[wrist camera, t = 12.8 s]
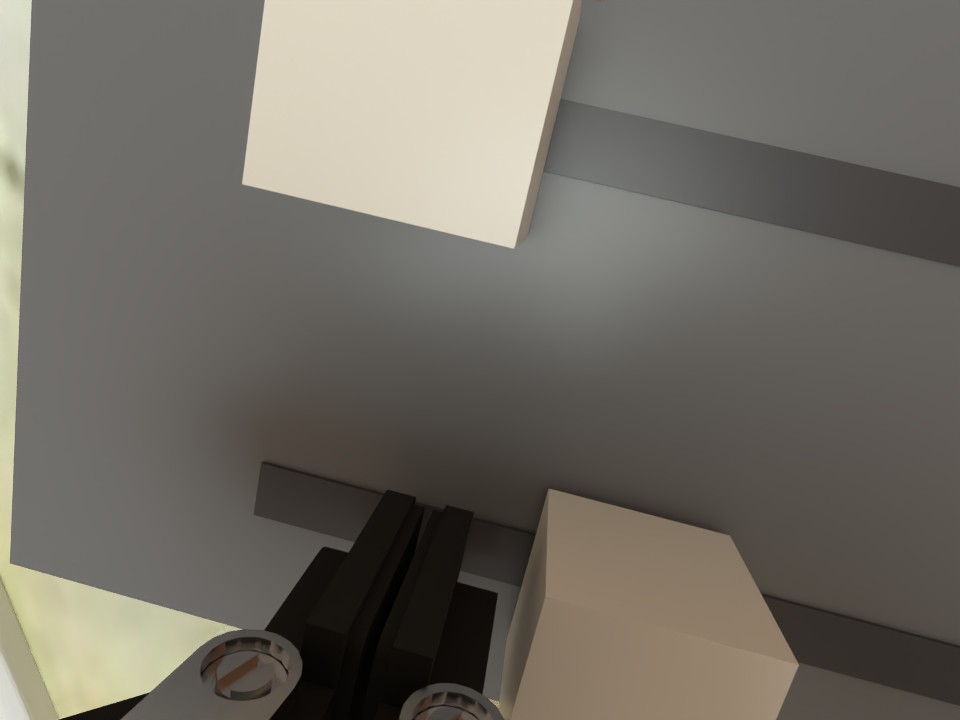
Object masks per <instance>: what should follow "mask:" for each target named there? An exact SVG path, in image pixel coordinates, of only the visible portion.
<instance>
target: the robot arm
mask: <svg viewBox="0 0 960 720" xmlns="http://www.w3.org/2000/svg"><path fill="white" fill-rule="evenodd" d="M415 501H416V497H414V496H411V495H407V494H403V493H399V492H395V491H392V490H387V491H386V492H385V494H384V495H383V497H382V498H381V500H380V502H379V503H378V505H377V507H376V508H375V510H374V512H373V513H372V515H371V516H370V518H369V520H368V521H367V523H366V525H365V526H364V528H363V530H362V531H361V533H360V534H359V536H358V538H357V539H356V541H355V543H354V544H353V546H352V548H351V549H350V551H349V553H348V552H344V551H341V550H337V549H333V548H330V547H326V546H325V547H322V549H321V550H320V551H319V552H318V554H317V555H316V556H315V558H314V559H313V561H312V562H311V564H310V565H309V566H308V568H307V569H306V571H305V572H304V574H303V575H302V576H301V578H300V579H299V581H298V582H297V584H296V585H295V586H294V588H293V589H292V591H291V592H290V594H289V595H288V596H287V598H286V599H285V601H284V602H283V604H282V605H281V606H280V608H279V609H278V611H277V612H276V614H275V615H274V617H273V618H272V619H271V621H270V622H269V624H268V625H267V627H266V628H265V629H264V630H254V629H243V630H237V631H231V632H227V633H225V634H222V635H219V636H217V637H214V638H212V639H211V640H210V641H208V642H207V643H205V644H204V645H202V646H201V647H200V648H198V649H197V650H196V651H195V652H194V653H193V654H192V655H191V656H190V657H189V658H188V659H186V660H185V661H184V662H183V663H182V664H181V665H180V666H179V667H178V668H177V669H175V670H174V671H173V672H172V673H171V674H170V675H169V676H168V677H167V678H166V679H165V680H163V681H162V682H161V683H160V684H159V685H158V686H157V687H156V688H155V689H154V690H152V691H151V692H150V693H147V694H143V695H140V696H137V697H133V698H130V699H127V700H123V701H120V702H116V703H113V704H110V705H106V706H103V707H100V708H96V709H93V710H90V711H86V712H83V713H80V714H76V715H73V716H70V717H66V718H63V719H60V720H505V719H504V718H503V716H502V715H501V713H500V711H499V710H498V708H497V707H496V706H495V705H494V704H493V703H492V702H491V701H490V700H489V699H488V698H486V697H485V696H484V695H483V689H484V682H485V676H486V669H487V663H488V656H489V650H490V643H491V637H492V630H493V624H494V617H495V611H496V604H497V597H498V593H497V592H493V591H489V590H486V589H482V588H478V587H474V586H471V585H467V584H463V583H460V582H457V581H458V577H459V573H460V569H461V565H462V560H463V556H464V552H465V548H466V544H467V540H468V536H469V532H470V527H471V523H472V519H473V515H474V512H472V511H468V510H464V509H460V508H457V507H453V506H449V505H446V506H445V509H444V511H443V512H441V511H437V510H433V511H432V513H431V515H430V518H429V520H428V522H427V525H426V527H425V530H424V532H423V535H422V537H421V539H420V542H419V544H418V547H417V542H418V538H419V533H420V528H421V524H422V519H423V515H424V507H422V506H418V505H415ZM416 547H417V549H416Z"/></svg>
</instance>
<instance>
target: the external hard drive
mask: <svg viewBox="0 0 960 720" xmlns="http://www.w3.org/2000/svg"><path fill="white" fill-rule="evenodd" d="M0 720H59V719H58V717H57V714H56V711H55V709H54V707H53V704H52V702H51V699H50V697H49V694H48V692H47V690H46V687H45V685H44V682H43V680H42V677H41V675H40V673H39V670H38V668H37V665H36V663H35V661H34V658H33V656H32V653H31V651H30V649H29V646H28V644H27V641H26V639H25V636H24V634H23V632H22V629H21V627H20V624H19V622H18V619H17V617H16V614H15V612H14V610H13V607H12V605H11V602H10V600H9V597H8V595H7V593H6V590H5V587H4V585H3V583H2V580H1V578H0Z"/></svg>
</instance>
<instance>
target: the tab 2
mask: <svg viewBox="0 0 960 720" xmlns="http://www.w3.org/2000/svg"><path fill="white" fill-rule="evenodd" d="M798 666H799V664H798V662H797V660H796V658H795V657H794V655H793V653H792V651H791V649H790V647H789V645H788V643H787V642H786V640H785V638H784V636H783V634H782V632H781V630H780V628H779V627H778V625H777V623H776V621H775V619H774V617H773V615H772V613H771V612H770V610H769V608H768V606H767V604H766V602H765V600H764V598H763V597H762V595H761V593H760V591H759V589H758V587H757V585H756V583H755V582H754V580H753V578H752V576H751V574H750V572H749V570H748V568H747V567H746V565H745V563H744V561H743V559H742V557H741V555H740V553H739V552H738V550H737V548H736V546H735V544H734V542H733V540H732V539H731V537H730V535H726V534H722V533H718V532H714V531H710V530H707V529H703V528H699V527H695V526H691V525H687V524H683V523H680V522H676V521H672V520H668V519H664V518H660V517H657V516H653V515H649V514H645V513H641V512H637V511H634V510H630V509H626V508H622V507H618V506H614V505H610V504H607V503H603V502H599V501H595V500H591V499H587V498H584V497H580V496H576V495H572V494H568V493H564V492H560V491H557V490H553V489H548V492H547V496H546V500H545V503H544V507H543V510H542V514H541V518H540V521H539V525H538V529H537V532H536V536H535V539H534V543H533V547H532V550H531V554H530V557H529V561H528V565H527V568H526V572H525V575H524V579H523V583H522V586H521V590H520V594H519V597H518V601H517V604H516V608H515V612H514V615H513V619H512V622H511V626H510V630H509V633H508V637H507V641H506V649H505V658H504V667H503V675H502V684H501V692H500V701H499V711H500V713H501V715H502V716H503V718H504V719H505V720H776V718H777V716H778V714H779V711H780V709H781V707H782V704H783V702H784V699H785V697H786V695H787V692H788V690H789V688H790V685H791V683H792V680H793V678H794V676H795V673H796V671H797V669H798Z"/></svg>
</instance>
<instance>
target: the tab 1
mask: <svg viewBox="0 0 960 720" xmlns="http://www.w3.org/2000/svg"><path fill="white" fill-rule="evenodd" d="M580 9H581V0H265V3H264V11H263V19H262V27H261V35H260V43H259V51H258V59H257V67H256V75H255V83H254V92H253V100H252V108H251V116H250V124H249V132H248V140H247V148H246V156H245V164H244V172H243V180H242V184H244V185H248V186H252V187H256V188H260V189H265V190H269V191H273V192H277V193H281V194H286V195H290V196H294V197H298V198H303V199H307V200H311V201H315V202H319V203H324V204H328V205H332V206H336V207H340V208H345V209H349V210H353V211H357V212H361V213H366V214H370V215H374V216H378V217H382V218H387V219H391V220H395V221H399V222H403V223H408V224H412V225H416V226H420V227H425V228H429V229H433V230H437V231H441V232H446V233H450V234H454V235H458V236H462V237H467V238H471V239H475V240H479V241H483V242H488V243H492V244H496V245H500V246H504V247H509V248H513V249H515V248H516V247H517V246H518V245H519V244H520V243H521V242H522V241H523V240H525V239H526V238H527V236H528V232H529V228H530V223H531V219H532V215H533V211H534V207H535V203H536V198H537V194H538V190H539V186H540V182H541V178H542V173H543V169H544V165H545V161H546V157H547V153H548V148H549V144H550V140H551V136H552V132H553V128H554V124H555V119H556V115H557V111H558V107H559V103H560V99H561V94H562V90H563V86H564V82H565V78H566V74H567V69H568V65H569V61H570V57H571V53H572V49H573V44H574V40H575V36H576V32H577V28H578V24H579V17H580Z"/></svg>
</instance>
